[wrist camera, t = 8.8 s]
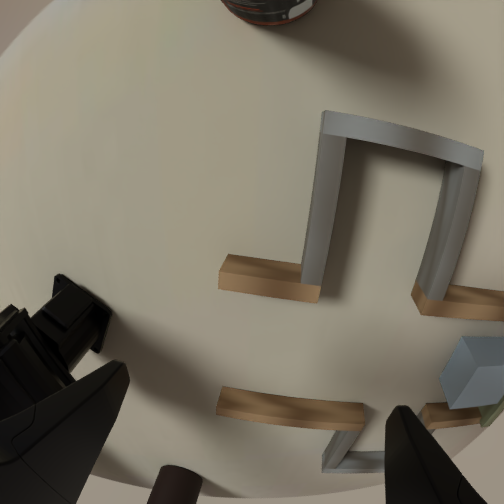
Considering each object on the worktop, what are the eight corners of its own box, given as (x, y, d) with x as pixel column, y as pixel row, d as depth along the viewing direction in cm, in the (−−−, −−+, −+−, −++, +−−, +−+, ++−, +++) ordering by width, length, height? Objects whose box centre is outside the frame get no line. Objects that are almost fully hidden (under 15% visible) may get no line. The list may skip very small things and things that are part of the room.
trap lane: (221, 442, 30) (214, 466, 27) (238, 103, 16) (224, 99, 13) (438, 451, 27) (443, 472, 24) (575, 195, 13) (600, 208, 10)
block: (438, 377, 22) (449, 409, 19) (461, 335, 20) (478, 366, 17) (483, 375, 22) (497, 403, 18) (506, 335, 20) (524, 363, 16)
